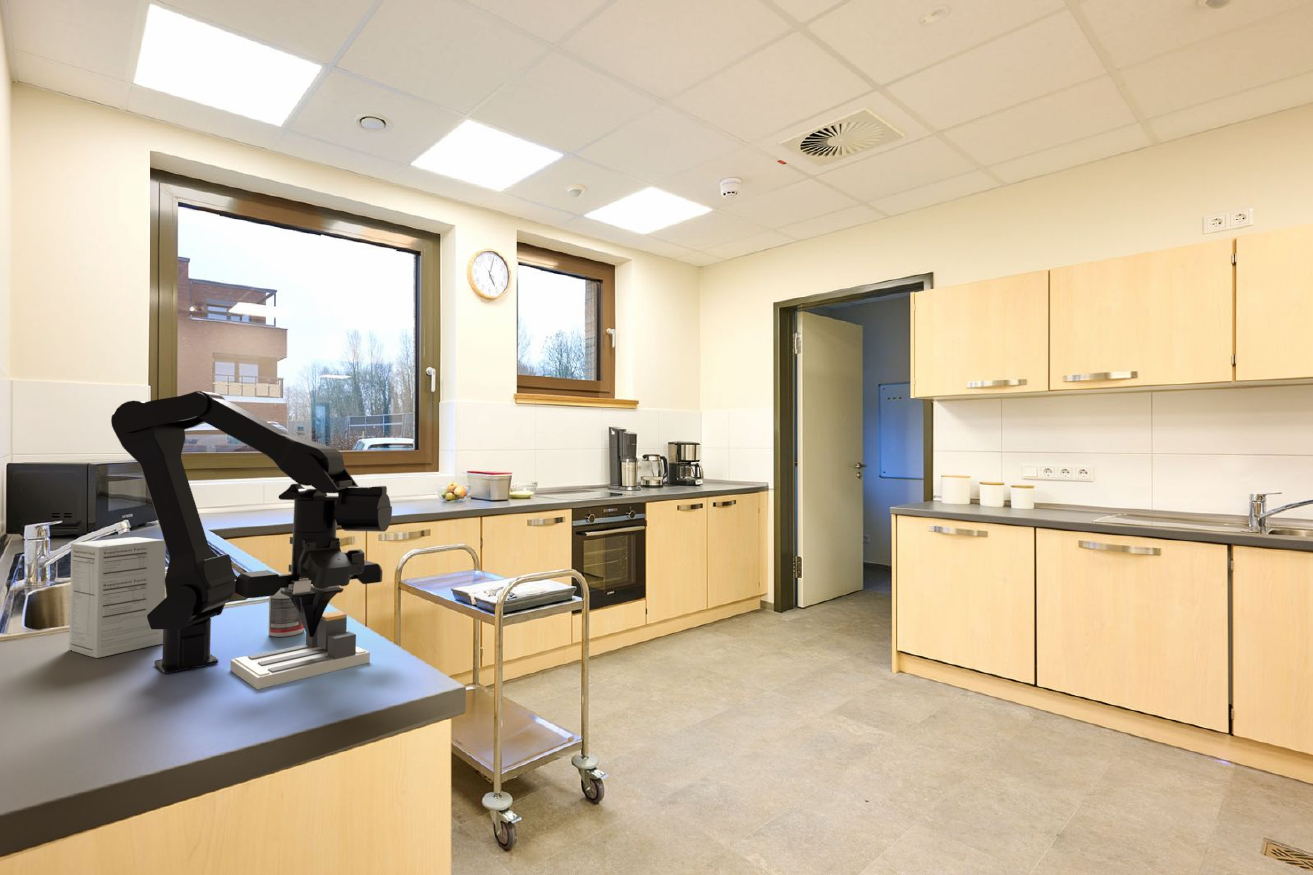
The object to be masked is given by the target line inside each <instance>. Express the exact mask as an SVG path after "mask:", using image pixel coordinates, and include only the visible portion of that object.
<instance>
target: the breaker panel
mask: <svg viewBox="0 0 1313 875" xmlns="http://www.w3.org/2000/svg"><path fill="white" fill-rule="evenodd" d="M317 634H318V627H317V630H316V632H315V634H314V636H313V637H308V636H307V634H306V633H305V644H300V645H296V646H291V647H287V648H281V649H277V650H272V651H266V652H261V653H258V654H257V653H256V654H251V655H248V656H246V655H245V656H240V657H236V658H232V659H230V670H229V671H231V672H232V673H234V674H235V675H236V676H238V677H239V678H241V679H242V680H244V681H245V682H246V683H247V684H249V685H251V686H252V687H253V688H254V689H257V690H259V689H264V688H269V687H271V686H277V685H281V684H285V683H290V682H292V681H293V682H294V681H298V680H302V679H305V678H311V677H315V676H318V675H323V674H327V673H331V672H335V671H340V670H343V669H348V668H352V667H356V666H361V665H364V664H368V663H370V662H371V657H370V656H371V652H370V651H368V650H366V649H364V648H361V647H359V646H357V640H356V639H357V634H356V633H353V632H351V631H349V630H348V631H346V632H343V633H338V634H333V635H328V649H327V650H325V649H323V648H321V647H319V646H317Z"/></svg>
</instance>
